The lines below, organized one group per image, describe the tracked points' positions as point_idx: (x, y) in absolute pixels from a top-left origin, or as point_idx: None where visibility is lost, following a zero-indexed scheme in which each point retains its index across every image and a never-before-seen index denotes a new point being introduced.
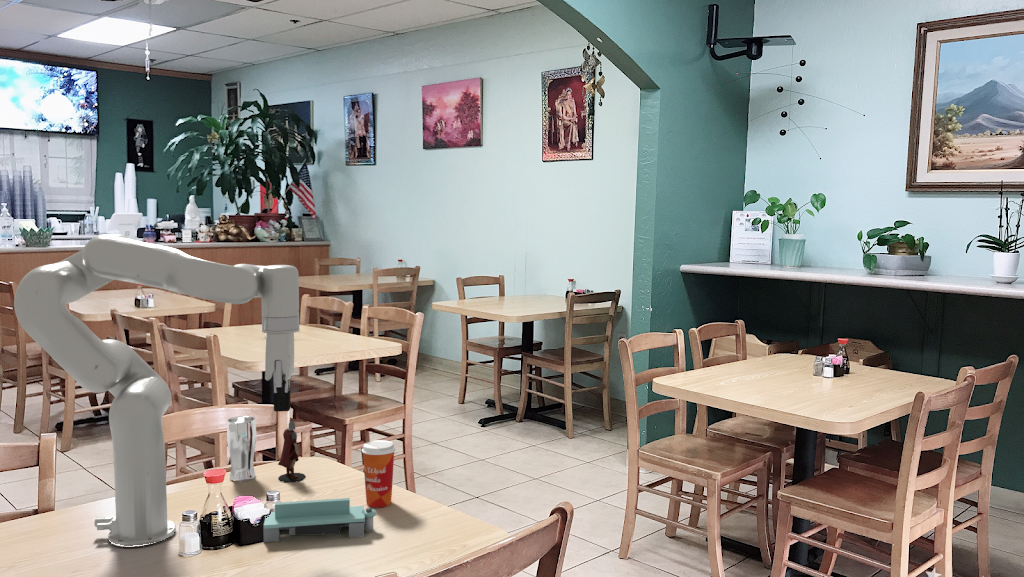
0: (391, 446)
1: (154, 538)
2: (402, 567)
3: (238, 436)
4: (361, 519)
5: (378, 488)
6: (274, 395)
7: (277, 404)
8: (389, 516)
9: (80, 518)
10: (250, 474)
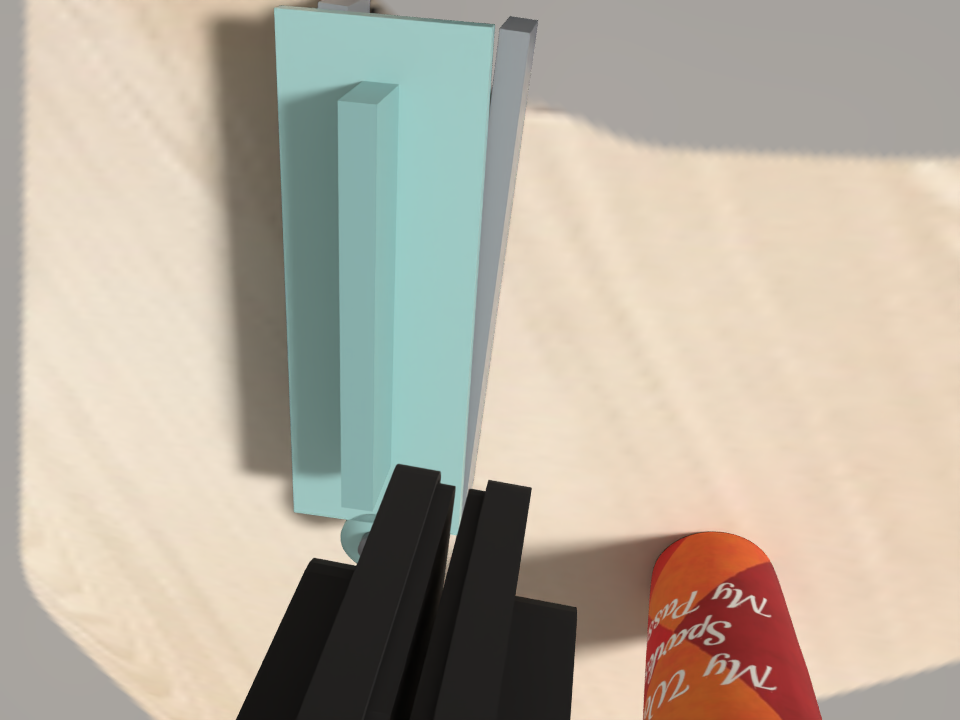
0: None
1: None
2: (28, 525)
3: None
4: (296, 496)
5: (648, 639)
6: (310, 689)
7: (295, 591)
8: (530, 584)
9: None
10: None
